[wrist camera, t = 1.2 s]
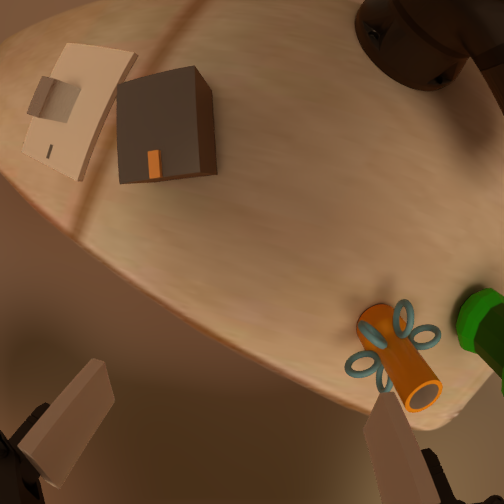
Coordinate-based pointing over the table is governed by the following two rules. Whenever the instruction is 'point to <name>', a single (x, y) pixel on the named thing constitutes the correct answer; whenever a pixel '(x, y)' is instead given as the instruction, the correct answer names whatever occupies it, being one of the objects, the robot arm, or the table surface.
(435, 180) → the table surface
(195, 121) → the dark grey block
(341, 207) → the table surface
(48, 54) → the table surface
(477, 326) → the plastic bottle
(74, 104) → the board
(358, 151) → the table surface
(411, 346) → the orange tube with rings
